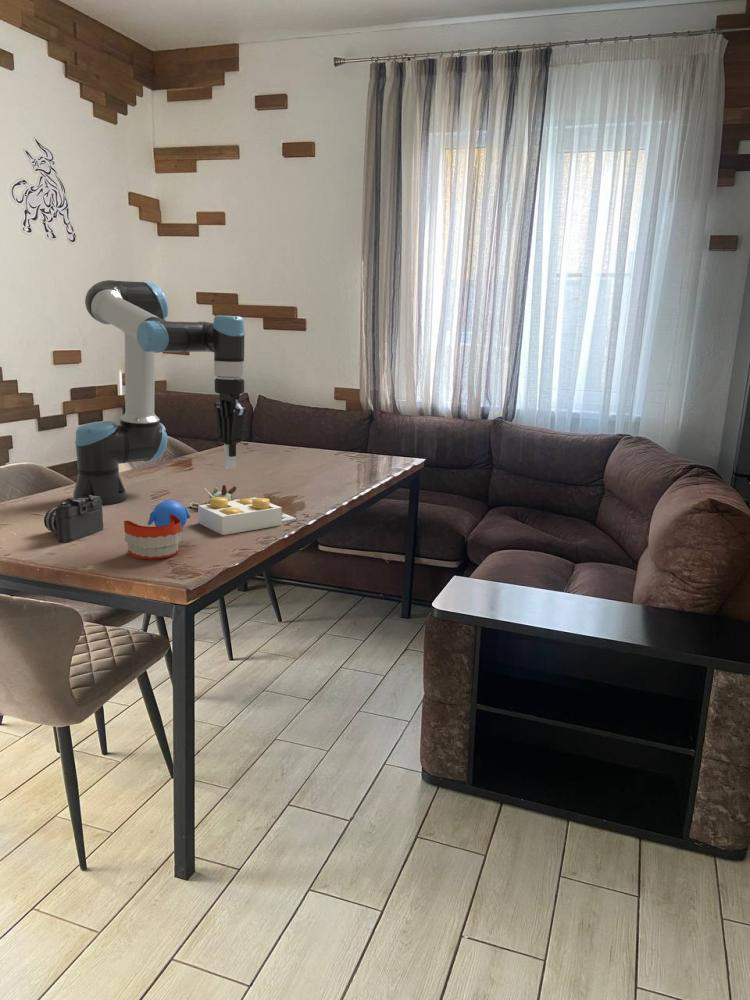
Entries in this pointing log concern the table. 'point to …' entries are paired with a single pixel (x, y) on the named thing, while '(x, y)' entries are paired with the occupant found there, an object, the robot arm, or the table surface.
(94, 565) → the table surface
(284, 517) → the card
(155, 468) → the table surface
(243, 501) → the button far right
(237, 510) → the button near left
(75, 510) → the camera
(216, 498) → the button far left
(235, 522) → the button board
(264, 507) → the button near right
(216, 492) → the toy dog
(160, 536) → the toy
